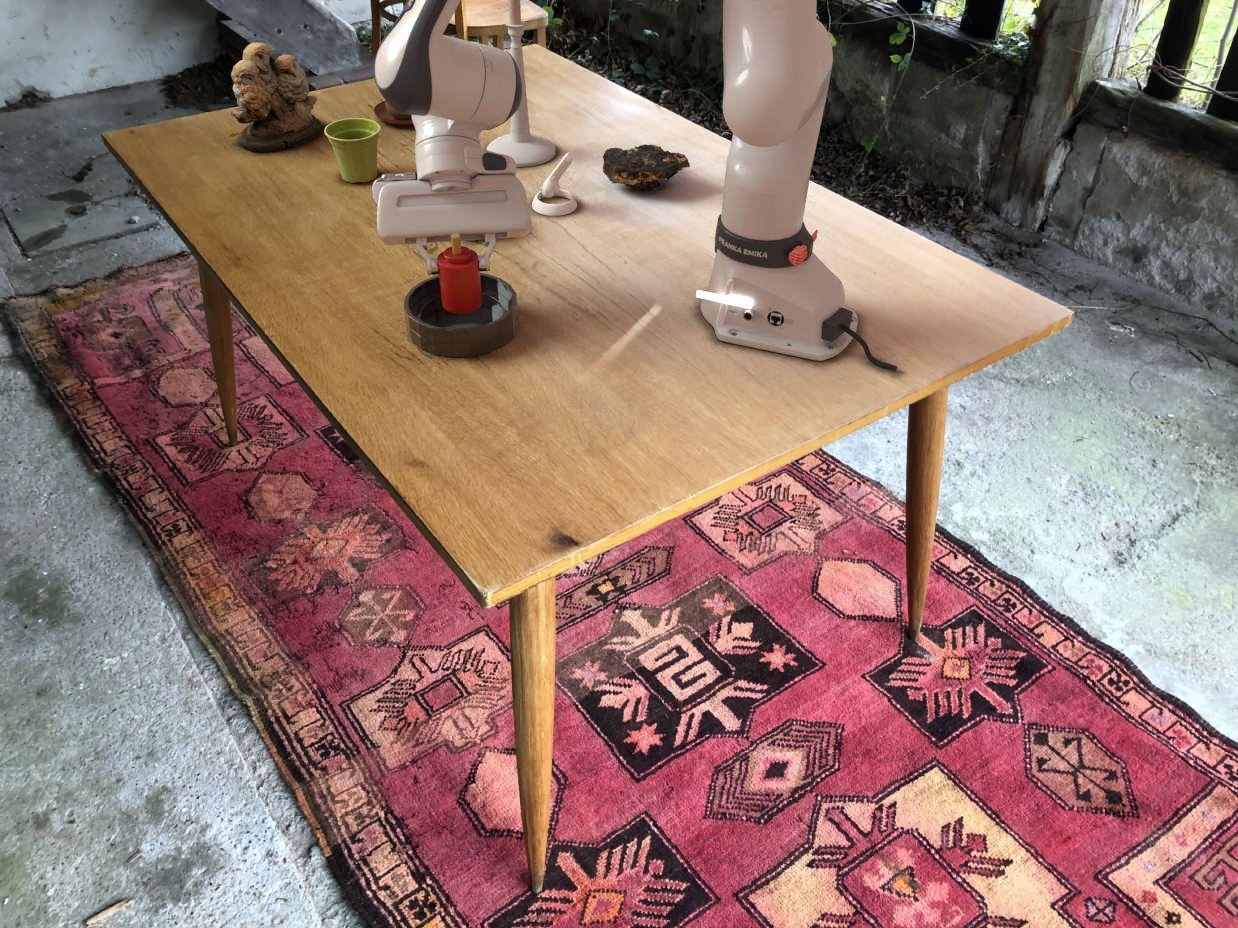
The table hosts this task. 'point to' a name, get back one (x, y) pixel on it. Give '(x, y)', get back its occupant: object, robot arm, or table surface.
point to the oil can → (459, 278)
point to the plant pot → (355, 147)
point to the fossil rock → (642, 166)
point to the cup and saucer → (391, 115)
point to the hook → (555, 192)
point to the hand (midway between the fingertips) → (459, 272)
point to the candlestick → (521, 109)
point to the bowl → (461, 319)
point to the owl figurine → (272, 101)
